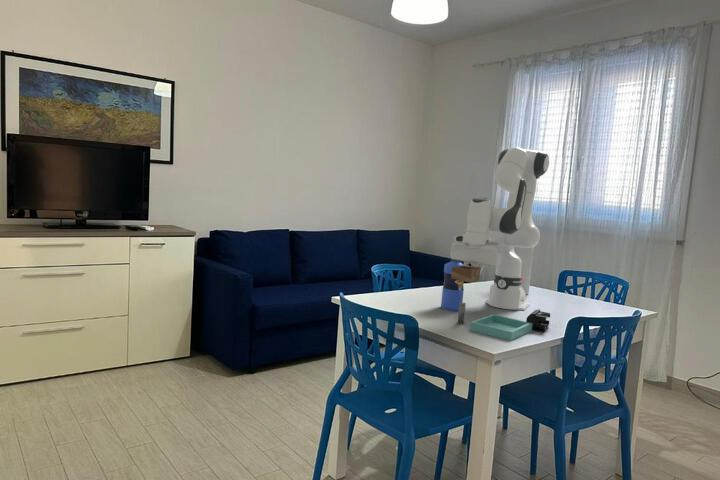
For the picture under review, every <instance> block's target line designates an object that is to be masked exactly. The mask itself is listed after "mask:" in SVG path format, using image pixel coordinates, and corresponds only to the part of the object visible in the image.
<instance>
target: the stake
mask: <svg viewBox="0 0 720 480" xmlns="http://www.w3.org/2000/svg"><path fill="white" fill-rule="evenodd" d="M457 313H458V314H457V324H459V325H464V324H465V315H466V302H462V303H459V311H457Z"/></svg>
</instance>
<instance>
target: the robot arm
mask: <svg viewBox="0 0 720 480" xmlns="http://www.w3.org/2000/svg"><path fill="white" fill-rule="evenodd" d="M549 166H550V157H549V155H548V153H547V152H545V151H542V150H534V149H527V148H524V149H523V148H520V147H511V148H507V149H504V150H502V151H500V153H499V154H498V160H497V168H496V171H495V173H494V179H495V182H496V184H497V185H498V186H499V187H500V189H502V190H503V191H505V192H508V193H509V194H508V197H507V200H506V201H507V202H506V207H494V206H492V201H491V199H490V198H487V197H474V198H472V199H471V200H470V203H469V207H468V210H467V211H468V212H467V218H466V219H467V220H466V221H467V228H466V230H465V233H462V234H459V235H458V234H457V235H455V236H453V241H454V242H453V243H452V244H451V248H450V255H449V256H450V259H451V258H452V259H455V260H461V261H460V262H463V265H465V266H467V267H468V266H470V263H473V264H479V265H478V267H480V269H481V270H480V276H481V275H482V273H483V272H482V271H483V270H484V268H485V267H486V266H491V267H495V274H494V277H493V284H491V285H490V286H489V287H490V288H489V293H488V299H485V303H487V304H488V305H490V306H492V307H494V308H497V309H503V310H519V311H525V310H526V309H527V308H528V307H530V302H528V301H526V295H525V292H524V290H523V288H522V287H521V282H522V281H523V277H520V276H521V267H522V261H521V259H520V257H519V256H517V255H516V253H515V251H514V248H513V246H514V247H520V248H532V247H534V248H535V247H536V246H537V245H538V243H539V242H540V238H541V233H540V230H539V228H538V227H537V226H536V225H535V223H534V220H533V216H532V211H533V204H534V199H535V194H536V192H537V191H536V190H537V182H538V181H537V180H538V179H539V178H540V177H542V176H543V175H545V174H546V173H547V171H548V169H549Z"/></svg>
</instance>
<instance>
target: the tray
mask: <svg viewBox="0 0 720 480" xmlns="http://www.w3.org/2000/svg"><path fill="white" fill-rule="evenodd" d="M532 324H533V323H530V322H526V320H520V319H516V318H512V317H507V316H503V315H500V314H499V315H498V314H494V313H493V314H490V315H487V316H484V317H481V318H478V319H476V320H473V321H471V322H470V326H469V327H470V328H469V331H471V332H472V331H473V332H475V333H480V334H483V335H487V336H491V337H494V338H495V337H496V338H500V339H503V340H506V341H507V340H508V341H514V340H516V339H517V338H520V337H522V336H524V335H526V334H528V333H530V332H532V331H533V330H532Z"/></svg>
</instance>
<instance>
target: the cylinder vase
mask: <svg viewBox="0 0 720 480" xmlns="http://www.w3.org/2000/svg"><path fill="white" fill-rule="evenodd" d="M513 248H514V251H515V253H516V255H517V256H519V257H520V259H521V261H522V267H521V276H520V277H523V281H522V282H521V287H522V288H523V290H524V292H525V296H526V295H529V293H530V284H531V276H532V267H533V257H534V251H535V247H532V248H520V247H514V246H513Z"/></svg>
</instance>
